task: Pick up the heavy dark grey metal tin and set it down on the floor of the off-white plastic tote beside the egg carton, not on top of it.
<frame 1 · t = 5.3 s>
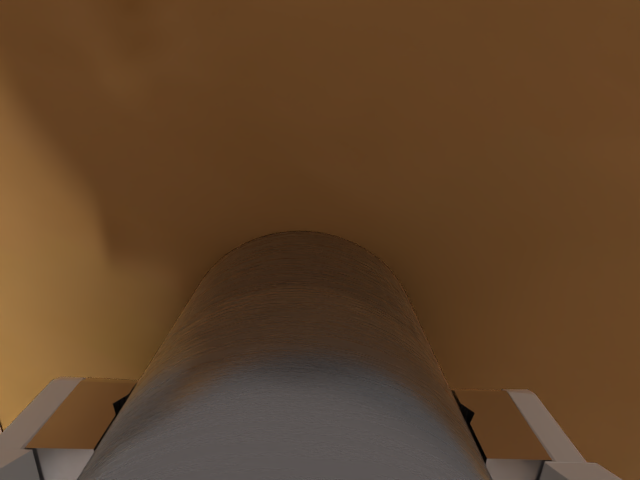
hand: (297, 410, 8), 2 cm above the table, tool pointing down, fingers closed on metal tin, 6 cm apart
metal tin: (301, 338, 10), on the table, touching gripper
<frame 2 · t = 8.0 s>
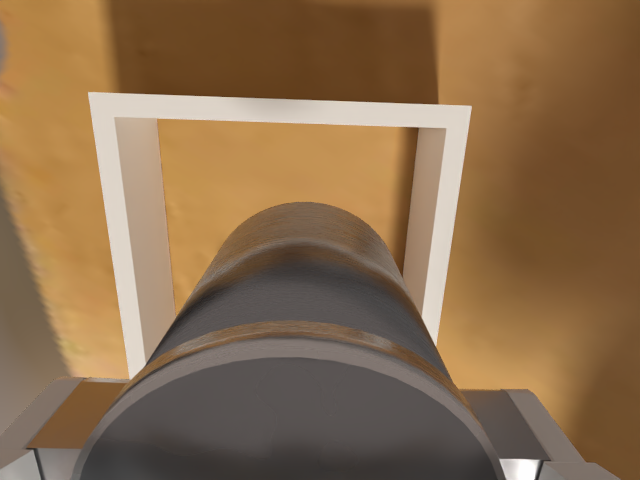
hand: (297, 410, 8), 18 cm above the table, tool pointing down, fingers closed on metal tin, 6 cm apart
metal tin: (305, 292, 12), point 13 cm above the table, touching gripper
tote: (287, 292, 26), on the table
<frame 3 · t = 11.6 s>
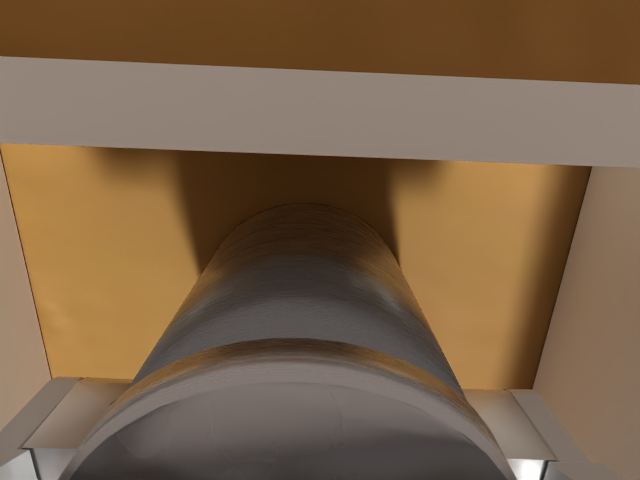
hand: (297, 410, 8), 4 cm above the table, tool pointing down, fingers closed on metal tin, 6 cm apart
metal tin: (304, 297, 11), resting in tote, touching gripper
tote: (293, 463, 13), on the table
when the fingers open (4 cm above the table, at t = 11.6 s): metal tin stays where it is, resting in tote.
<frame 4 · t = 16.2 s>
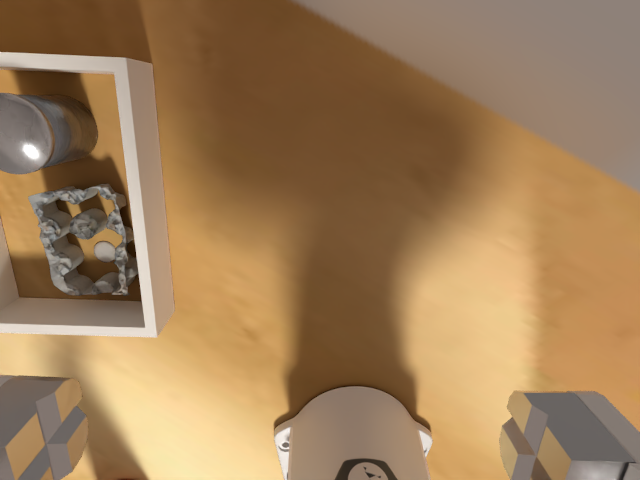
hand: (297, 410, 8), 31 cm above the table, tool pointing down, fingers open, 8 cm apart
egg carton: (101, 234, 40), resting in tote
metal tin: (66, 128, 36), resting in tote
tote: (74, 196, 38), on the table
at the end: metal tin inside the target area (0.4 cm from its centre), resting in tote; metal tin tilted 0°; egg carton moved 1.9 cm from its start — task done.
